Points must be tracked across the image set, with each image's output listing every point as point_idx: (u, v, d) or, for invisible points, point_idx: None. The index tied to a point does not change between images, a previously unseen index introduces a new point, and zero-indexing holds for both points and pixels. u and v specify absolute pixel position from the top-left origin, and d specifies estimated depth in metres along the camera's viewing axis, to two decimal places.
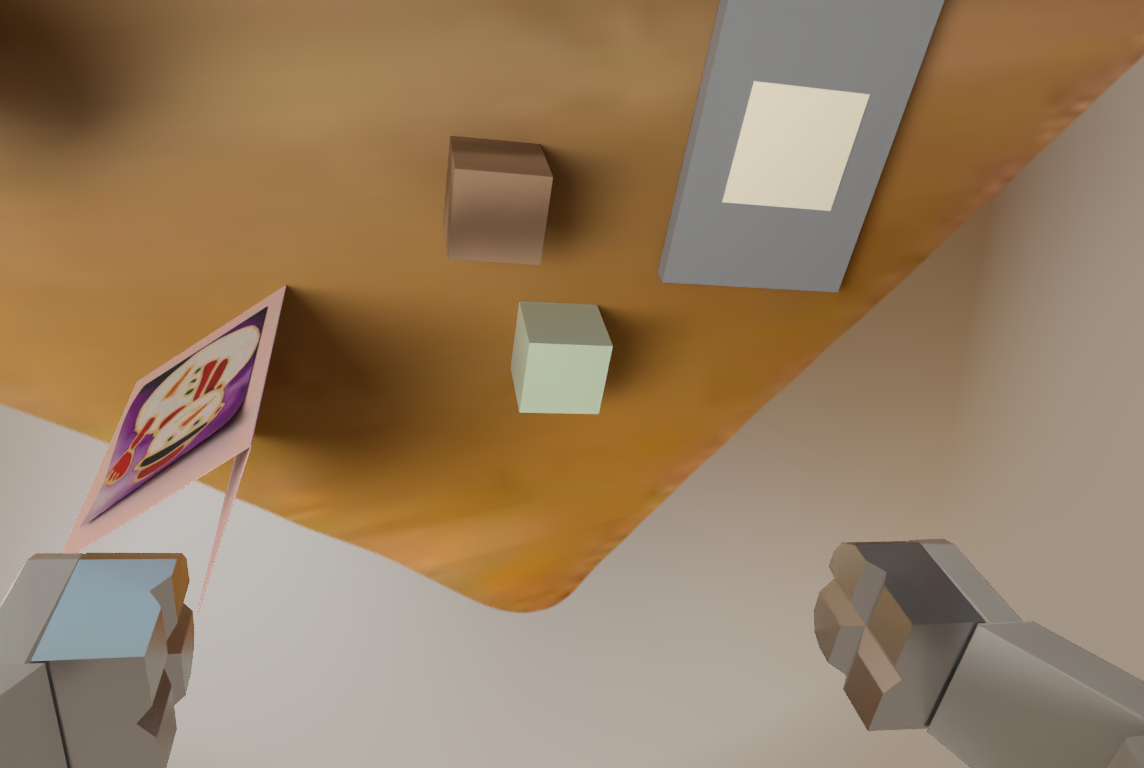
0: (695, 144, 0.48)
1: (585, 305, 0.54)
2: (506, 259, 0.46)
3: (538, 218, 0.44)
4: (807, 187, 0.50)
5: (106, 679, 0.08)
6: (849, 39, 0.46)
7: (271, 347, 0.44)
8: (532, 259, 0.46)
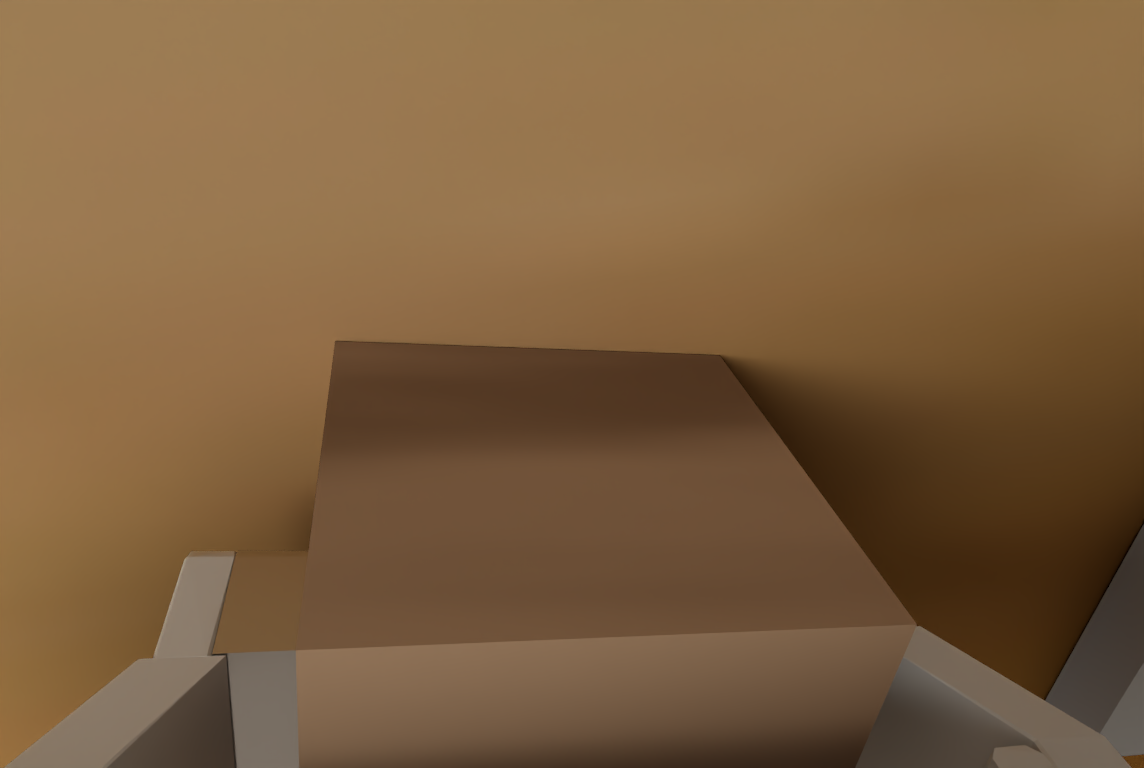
0: None
1: None
2: None
3: None
4: None
5: (278, 671, 0.08)
6: None
7: None
8: None
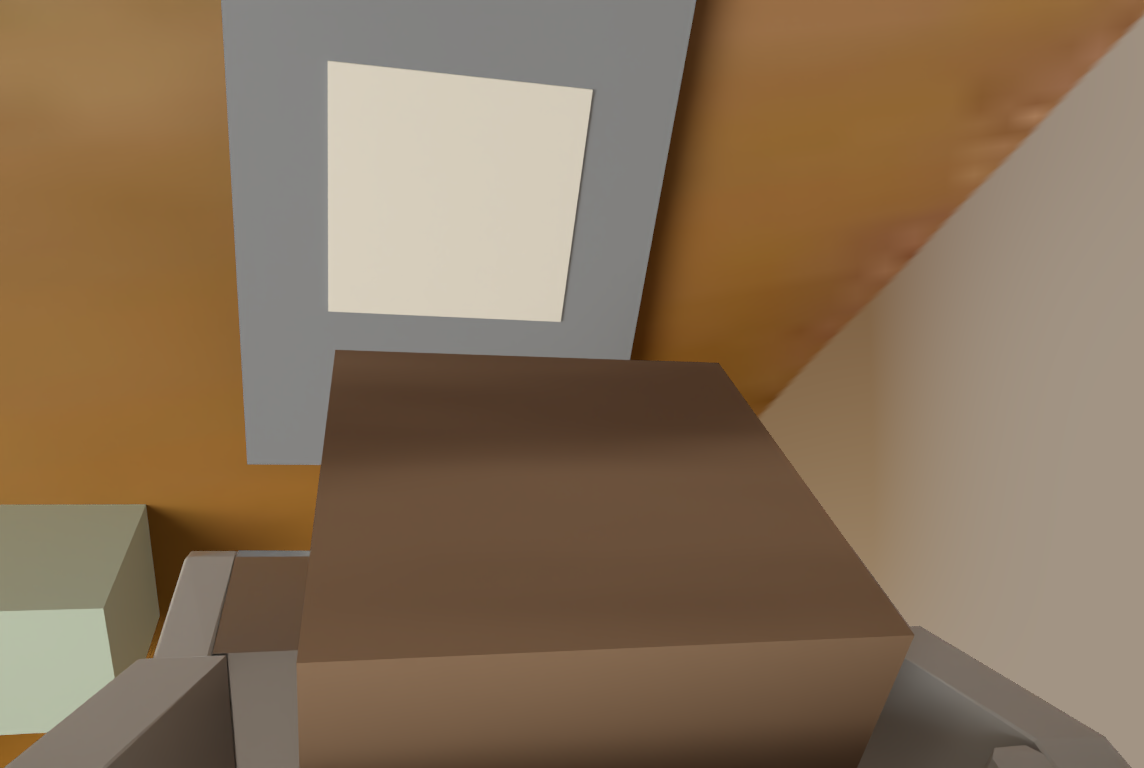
0: (234, 197, 0.23)
1: (118, 508, 0.28)
2: None
3: None
4: (503, 279, 0.26)
5: (278, 671, 0.08)
6: None
7: None
8: None
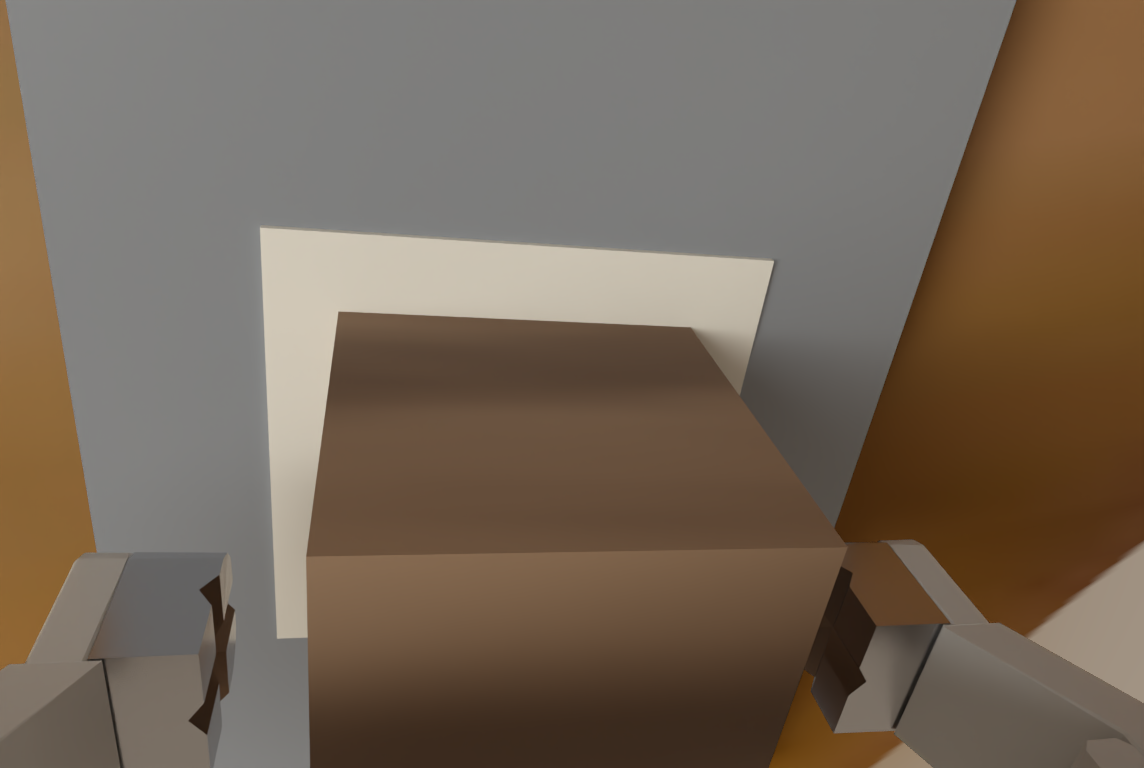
0: (87, 471, 0.12)
1: None
2: None
3: (748, 716, 0.09)
4: None
5: (160, 676, 0.08)
6: (659, 44, 0.11)
7: None
8: None
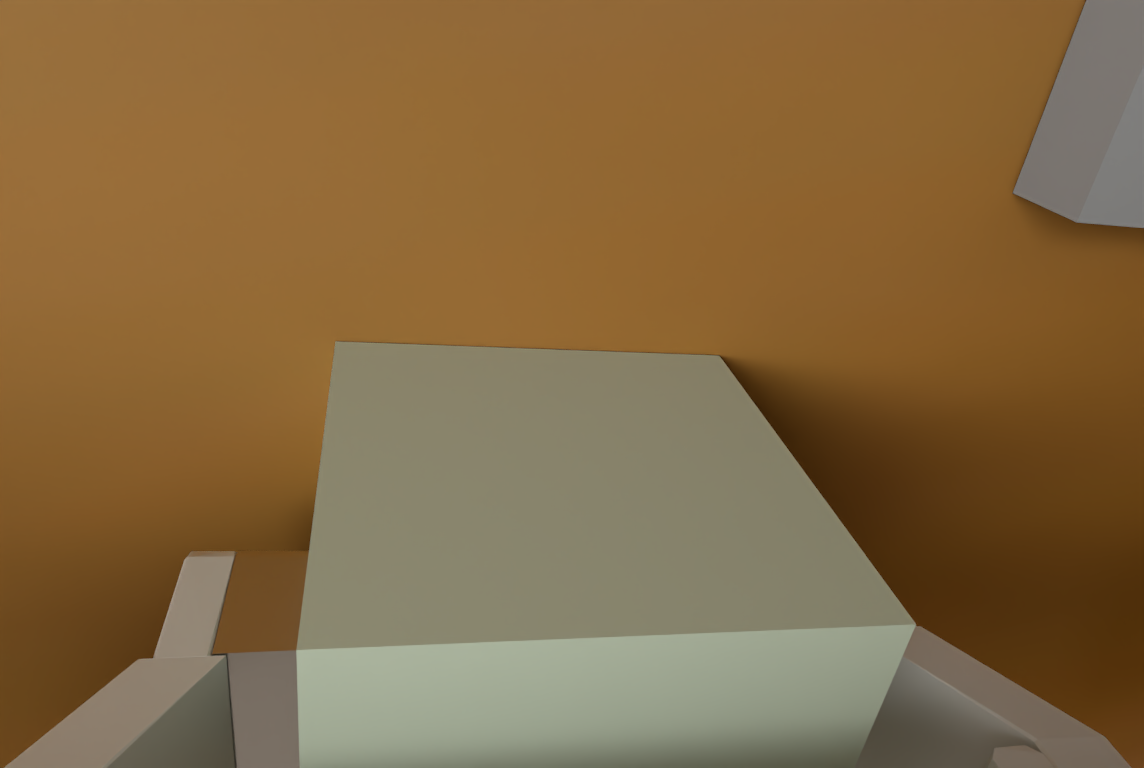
0: None
1: (668, 362, 0.11)
2: None
3: None
4: None
5: (279, 671, 0.08)
6: None
7: None
8: None
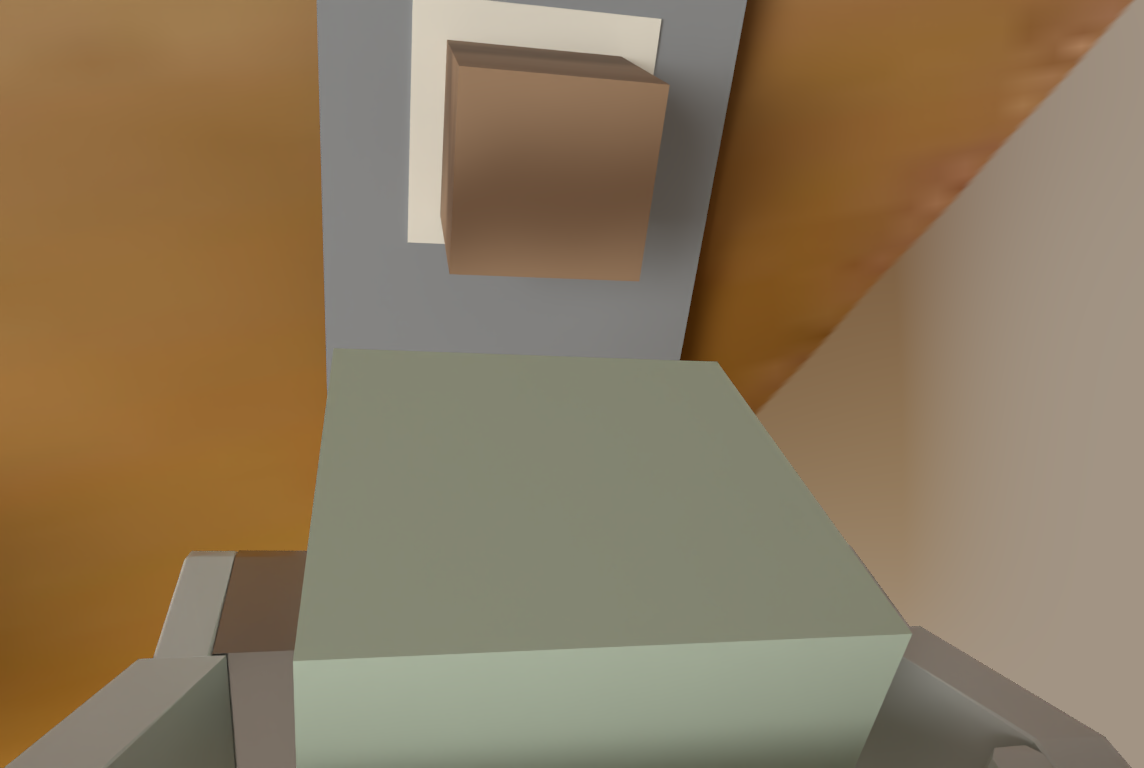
0: (322, 128, 0.24)
1: (665, 369, 0.11)
2: (570, 271, 0.22)
3: (637, 180, 0.21)
4: None
5: (279, 671, 0.08)
6: None
7: None
8: (623, 270, 0.22)
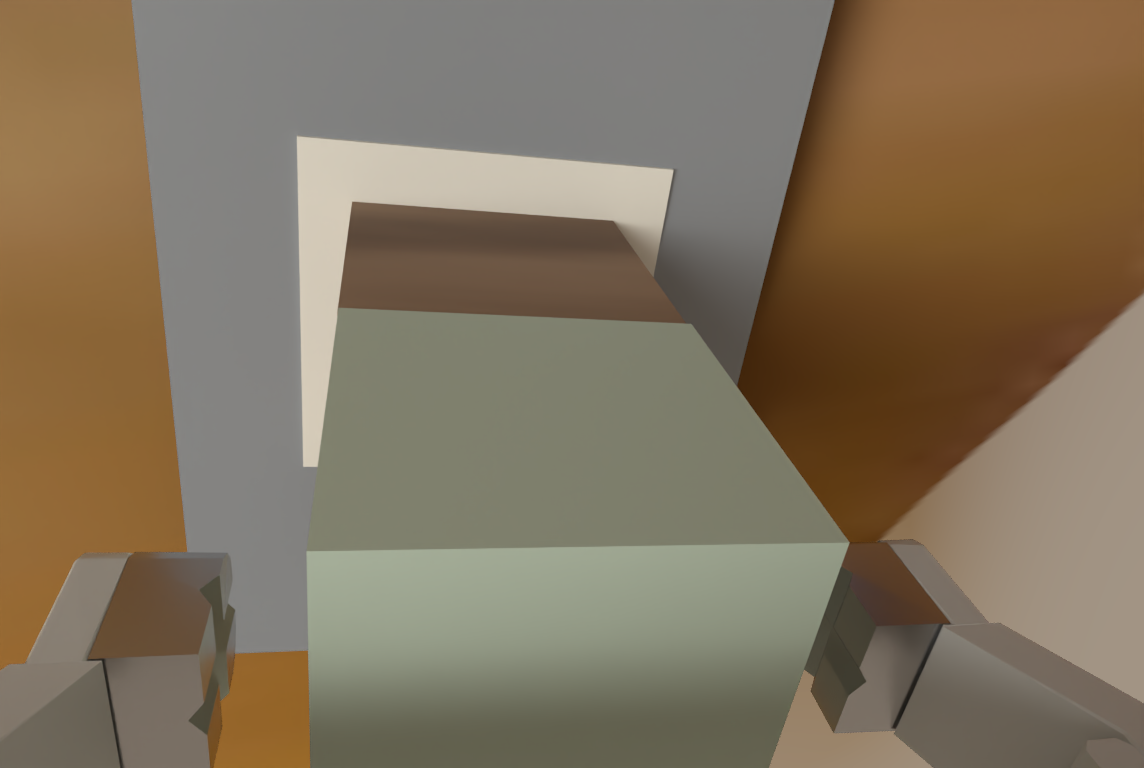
0: (167, 323, 0.16)
1: (643, 329, 0.12)
2: None
3: None
4: None
5: (161, 676, 0.08)
6: (580, 5, 0.15)
7: None
8: None
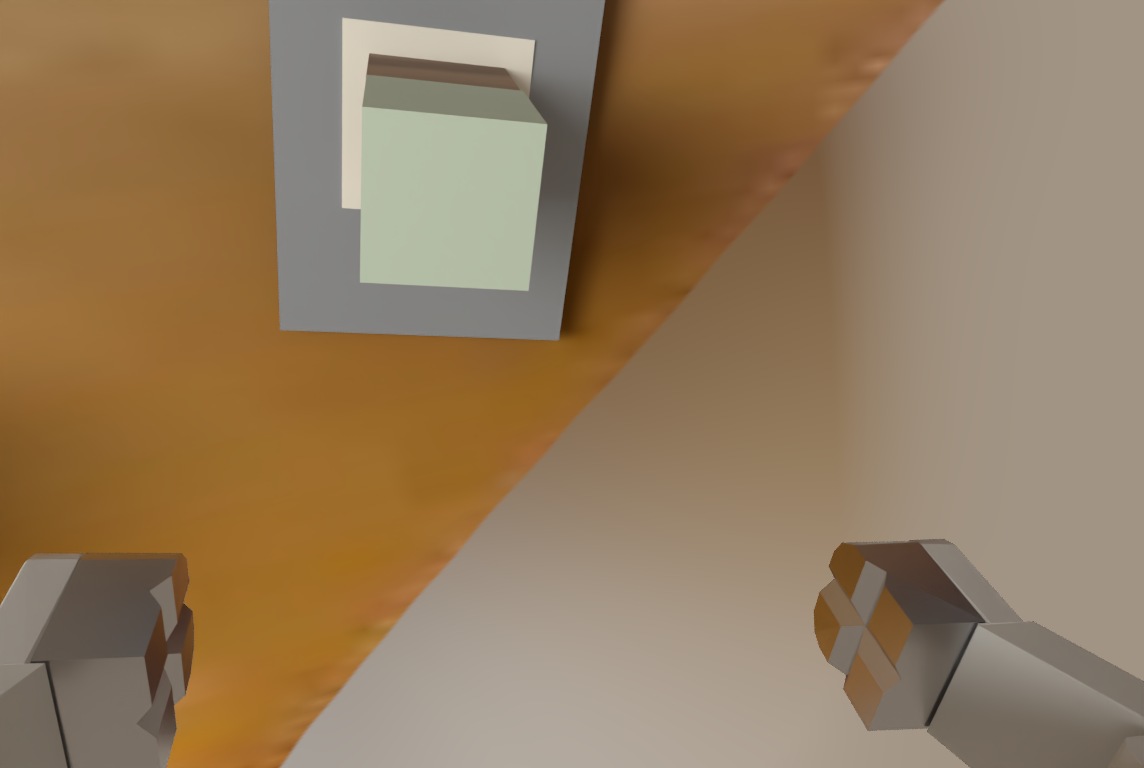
0: (274, 118, 0.32)
1: (499, 89, 0.27)
2: None
3: None
4: None
5: (106, 679, 0.08)
6: None
7: None
8: None
